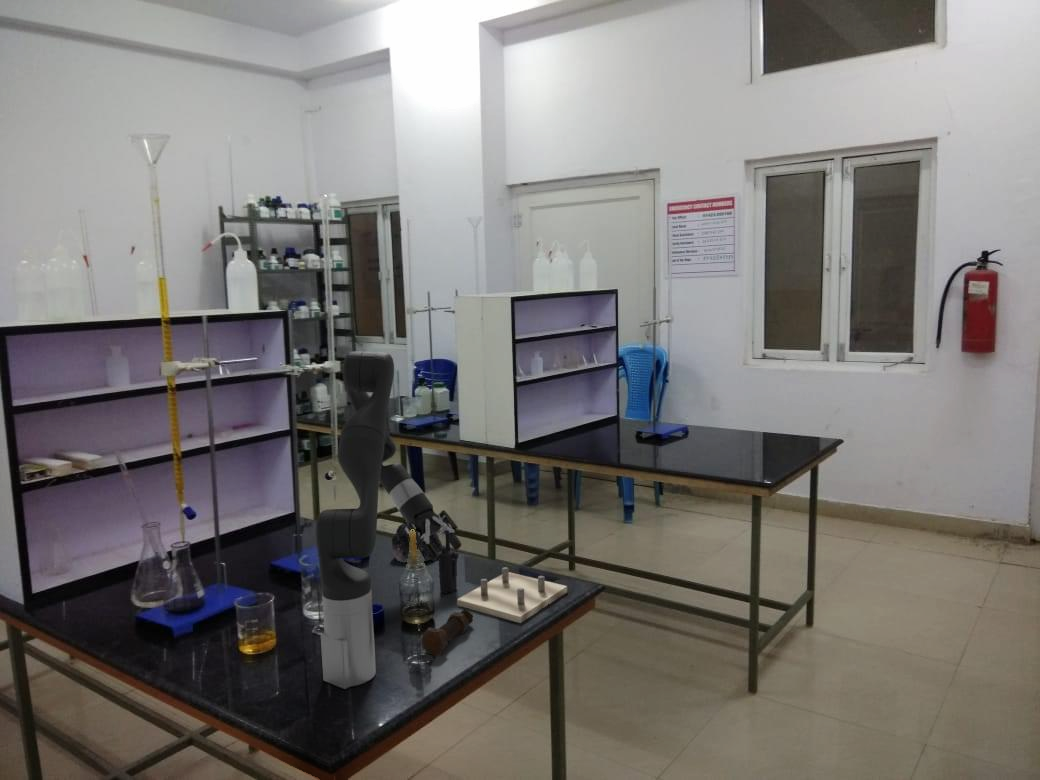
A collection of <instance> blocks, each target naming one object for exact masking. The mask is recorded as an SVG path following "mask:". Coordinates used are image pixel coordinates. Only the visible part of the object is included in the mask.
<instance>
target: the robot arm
mask: <svg viewBox="0 0 1040 780" xmlns="http://www.w3.org/2000/svg"><path fill="white" fill-rule="evenodd" d="M394 362H395V361H394V358H393V357H392V355H391V354H390V353H388V352H382V351H361V350H360V351H356V350H355V351H350V352H348V353H347V354H346V355H345V356H344V359H343V367H342V378H343V379H342V380H343V384H344V387H345V391H346V393H347V396H348V399H349V402H350V403H351V406H352V409H353V411H354V413H353V414H352V415H351V416H349V417H350V418H348V419H347V420H346V422H345V424H344V425H343V427H342V429H341V430H340V436H339V441H338V442H339V443H338V449H337V459H338V464H339V466H340V468H341V469H342V472H343V473H344V474H345V476H346V478H347V479H348V480H349V482H350V484H351V485H352V486H353V488H354V490H355V492H356V494H357V496H358V498H359V506H358V507H357V508H333V509H330V508H329V509H324V510H322V511H320V512H319V514H318V516H317V519H316V523H315V541H316V542H315V543H316V550H317V557H318V564H319V567H318V568H319V578H320V585H321V595H322V599H321V600H322V611H323V612H322V613H323V628H324V629H323V630H324V632H323V633H321V634H320V646H321V647H320V648H321V664H322V677H323V679H322V680H323V681H324V682H327V683H329V684H330V685H331V684H332V685H334V686H336V687H338V688H341V689H344V690H346V689H348V688H350V687H356V686H359V685H362V684H365V683H368V682H369V681H370V680H372V679H373V678H374V677H375V675H376V673H377V670H376V669H377V667H376V650H375V649H376V648H375V633H374V632H375V631H374V615H373V613H374V612H373V594H372V579H371V575H370V574H369V572H367V571H366V570H364V569H362V568H359V567H356V566H353V565H351V564H349V563H347V562H346V561H344V560H343V559H359V558H362V559H363V558H367V557H370V556H371V555H372V553H373V551H374V549H375V546H376V539H377V527H378V509H379V508H378V507H379V506H378V504H379V501H378V500H379V489H380V488H379V487H380V485H381V486H382V487H383V489H384V490H385V491H386V493H387V494H388V496H389V497H390V499H391V501H392V503H393V505H394V506H395V507H396V509H397V510H398V512H399V513H400V514H401V517H403V519H404V520H405V523H406V524H407V523H408V525H407V527H406V528H405V529H404V533H405V534H406V536H407V538H408V539H409V541H410V537H409V533H410V530H411V529H414V530H415V532H416V531H417V532H418V533H417V532H416V540H417V543H416V545H417V549H418V548H421V549H423V550H424V551H425V552H426V554H427V555H428V557H429V558H430V559H431V561H433V562H434V561H436V560H437V559H439V554H438V553H437V551H436V550H435V548H434V547H433V546H432V544H429V537H430V536H431V535H434V534H437V535H438V536H443V537H445V538H446V530H448V531H449V539H450V546H451V547H452V549H453V550H455V551H458V550H459V549H460V548H461V547H462V542H461V540H459V537H458V536H457V535H456V533H455V532H456V530H457V529H458V525H457V524H456V523H455V522H454V520H453V519H452V518H451V516H450V515H449V514H448V513H447V512H446V510H444V509H443V510H442V511H440V512H439V513H436V512H435V511H434V506H433V504H432V502H431V501H430V500H429V498H428V497H427V495H426V494H425V493H424V491H423V490H422V489H421V487H420V486H419V484H418V483H417V482H416V481H415V480H414V479H413V478H412V477H411V475H410V473H409V472H408V471H407V470H406V468H405V467H404V466H403V464H401V463H399V462H396V463H391V464H387V465H382V464H383V463H385V462H387V461H388V460H390V459H391V458H393V457H394V455H395V454H396V451H397V445H396V443H395V441H394V439H393V438H392V437H391V436H390V433H389V430H388V423H387V416H388V407H389V405H390V398H391V393H392V388H393V383H394V375H395V363H394ZM368 393H372V394H371V395H369V394H368ZM412 531H413V530H412ZM418 534H419V535H418Z"/></svg>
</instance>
